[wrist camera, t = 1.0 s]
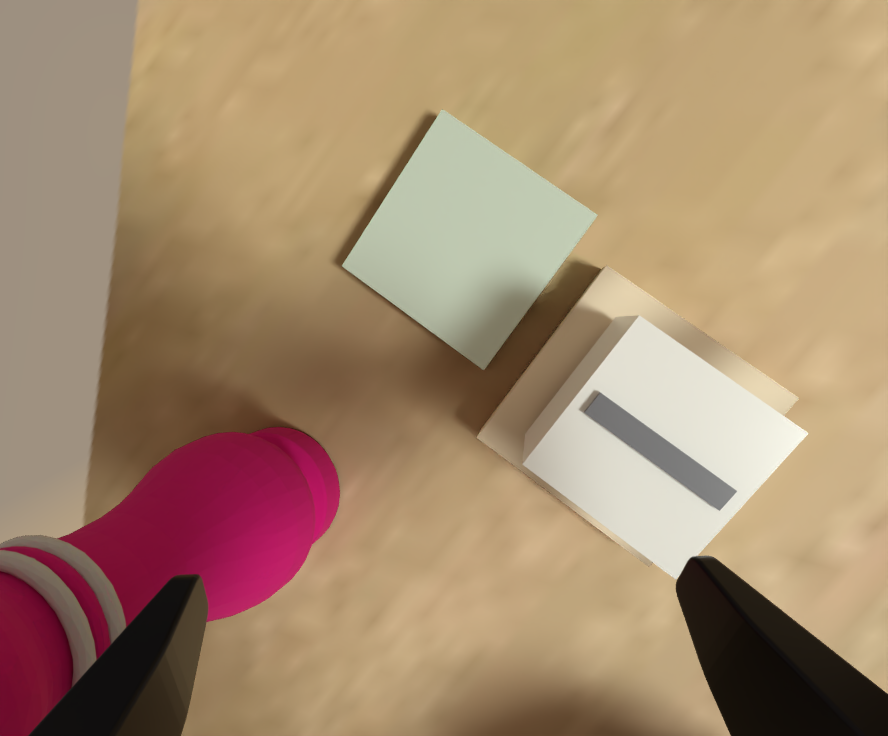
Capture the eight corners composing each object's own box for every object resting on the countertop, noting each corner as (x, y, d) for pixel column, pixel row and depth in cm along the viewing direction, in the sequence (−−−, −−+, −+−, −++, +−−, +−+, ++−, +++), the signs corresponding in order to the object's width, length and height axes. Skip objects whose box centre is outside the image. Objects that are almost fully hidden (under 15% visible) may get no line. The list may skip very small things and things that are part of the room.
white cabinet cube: (745, 407, 19) (812, 434, 14) (644, 523, 20) (677, 582, 16) (615, 316, 20) (640, 315, 15) (524, 434, 21) (522, 466, 16)
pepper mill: (246, 393, 25) (-798, 601, 6) (371, 453, 24) (-373, 977, 4) (201, 518, 26) (-820, 1069, 6) (320, 580, 25) (-474, 1470, 5)
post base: (780, 392, 21) (867, 417, 15) (641, 550, 22) (675, 624, 17) (601, 268, 21) (624, 251, 16) (480, 430, 23) (463, 463, 18)
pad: (594, 219, 21) (597, 214, 20) (485, 368, 23) (483, 370, 22) (446, 118, 22) (442, 109, 21) (349, 268, 23) (341, 265, 22)
